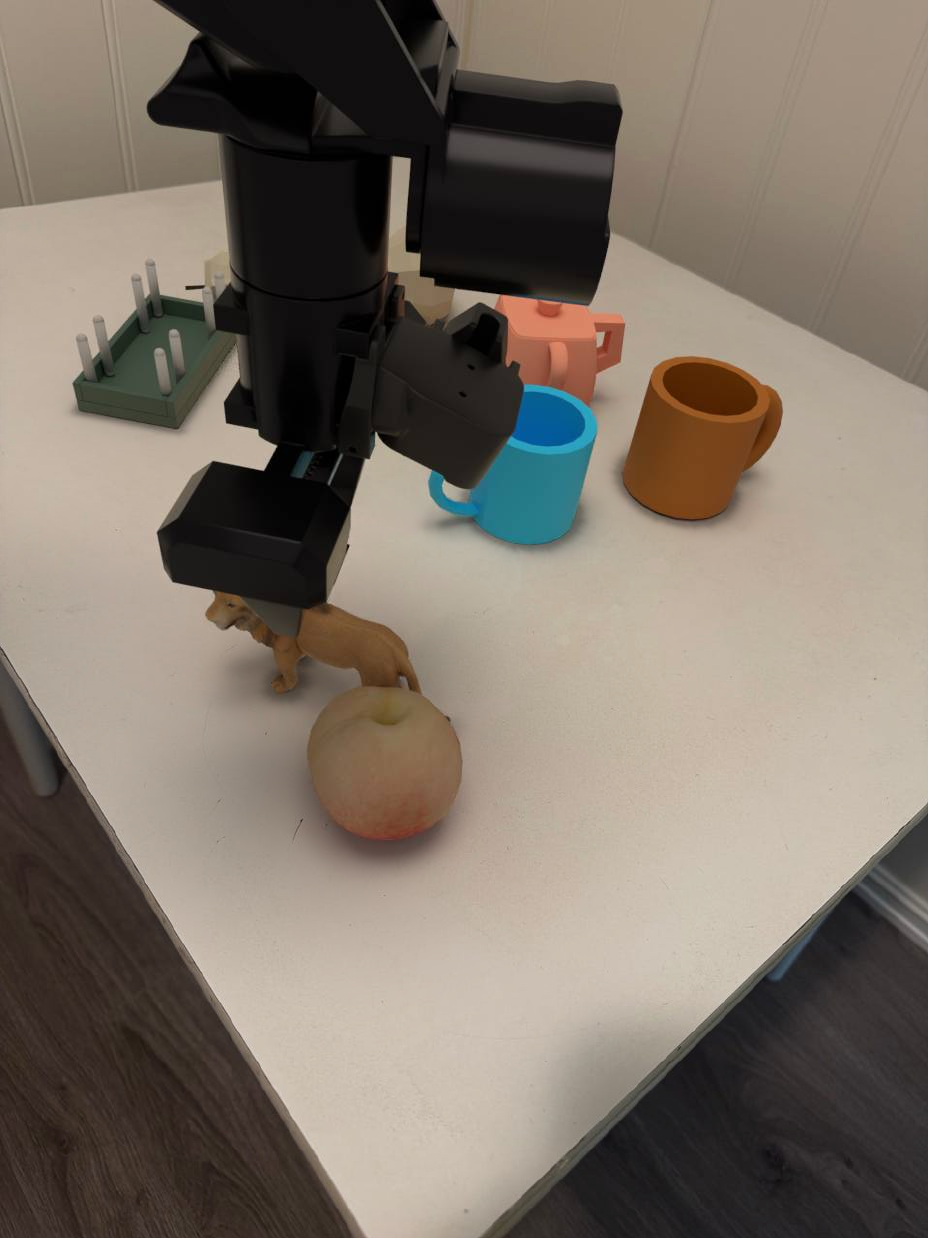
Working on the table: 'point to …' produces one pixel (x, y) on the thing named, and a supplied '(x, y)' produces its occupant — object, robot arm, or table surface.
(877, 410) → the table surface
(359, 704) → the fruit
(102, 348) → the drying rack
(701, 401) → the mug
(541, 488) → the mug
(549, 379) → the teapot
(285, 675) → the lion figurine
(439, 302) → the faceted club
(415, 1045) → the table surface
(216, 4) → the robot arm
